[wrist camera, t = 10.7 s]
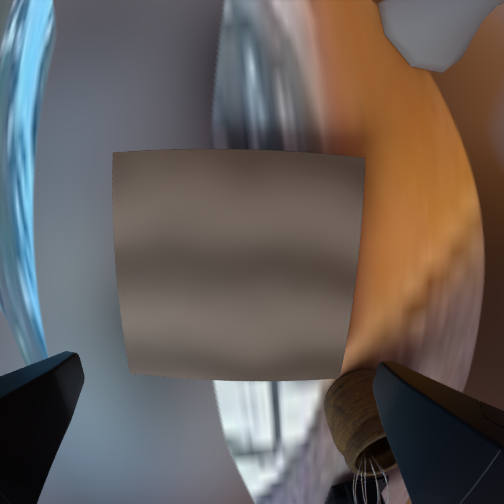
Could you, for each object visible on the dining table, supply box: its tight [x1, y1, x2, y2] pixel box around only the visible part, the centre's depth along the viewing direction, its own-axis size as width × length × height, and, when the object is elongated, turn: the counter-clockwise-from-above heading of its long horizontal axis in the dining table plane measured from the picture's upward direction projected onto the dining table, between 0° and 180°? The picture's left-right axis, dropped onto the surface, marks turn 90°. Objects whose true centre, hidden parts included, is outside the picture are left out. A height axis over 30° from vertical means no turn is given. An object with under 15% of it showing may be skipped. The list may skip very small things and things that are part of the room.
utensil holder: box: [324, 369, 398, 504], centre depth 17 cm, size 6×6×12 cm
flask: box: [378, 0, 504, 73], centre depth 12 cm, size 7×7×10 cm
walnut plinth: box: [112, 149, 365, 381], centre depth 19 cm, size 14×14×2 cm
